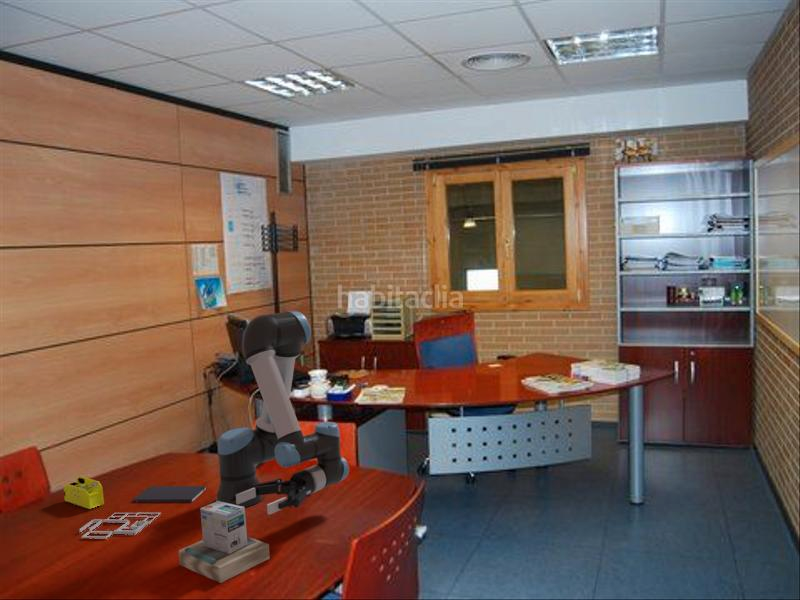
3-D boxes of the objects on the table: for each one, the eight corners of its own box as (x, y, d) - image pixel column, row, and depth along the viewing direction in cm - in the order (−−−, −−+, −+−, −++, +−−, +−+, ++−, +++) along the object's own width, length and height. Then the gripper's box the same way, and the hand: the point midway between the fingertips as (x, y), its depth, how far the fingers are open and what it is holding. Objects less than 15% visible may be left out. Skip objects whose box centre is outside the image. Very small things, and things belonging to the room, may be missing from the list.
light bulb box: (248, 544, 183) (245, 506, 182) (229, 555, 177) (226, 515, 176) (221, 537, 189) (218, 499, 188) (202, 546, 183) (199, 508, 182)
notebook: (132, 503, 231) (192, 503, 228) (132, 499, 231) (191, 499, 228) (150, 490, 243) (207, 490, 241) (150, 486, 243) (207, 485, 241)
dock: (179, 564, 182) (178, 546, 182) (228, 542, 195) (227, 525, 194) (220, 583, 171) (219, 563, 171) (269, 558, 184) (268, 539, 183)
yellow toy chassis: (105, 506, 229) (103, 482, 228) (89, 511, 224) (87, 487, 223) (80, 497, 238) (77, 474, 237) (64, 503, 233) (61, 479, 233)
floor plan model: (59, 550, 196) (58, 543, 196) (107, 515, 221) (106, 509, 221) (119, 551, 194) (118, 544, 194) (161, 516, 219) (160, 510, 218)
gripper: (337, 502, 199) (282, 527, 182) (280, 485, 215) (225, 507, 198) (336, 477, 198) (281, 500, 182) (279, 462, 214) (223, 483, 197)
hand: (251, 504), depth 190 cm, fingers open, 13 cm apart
